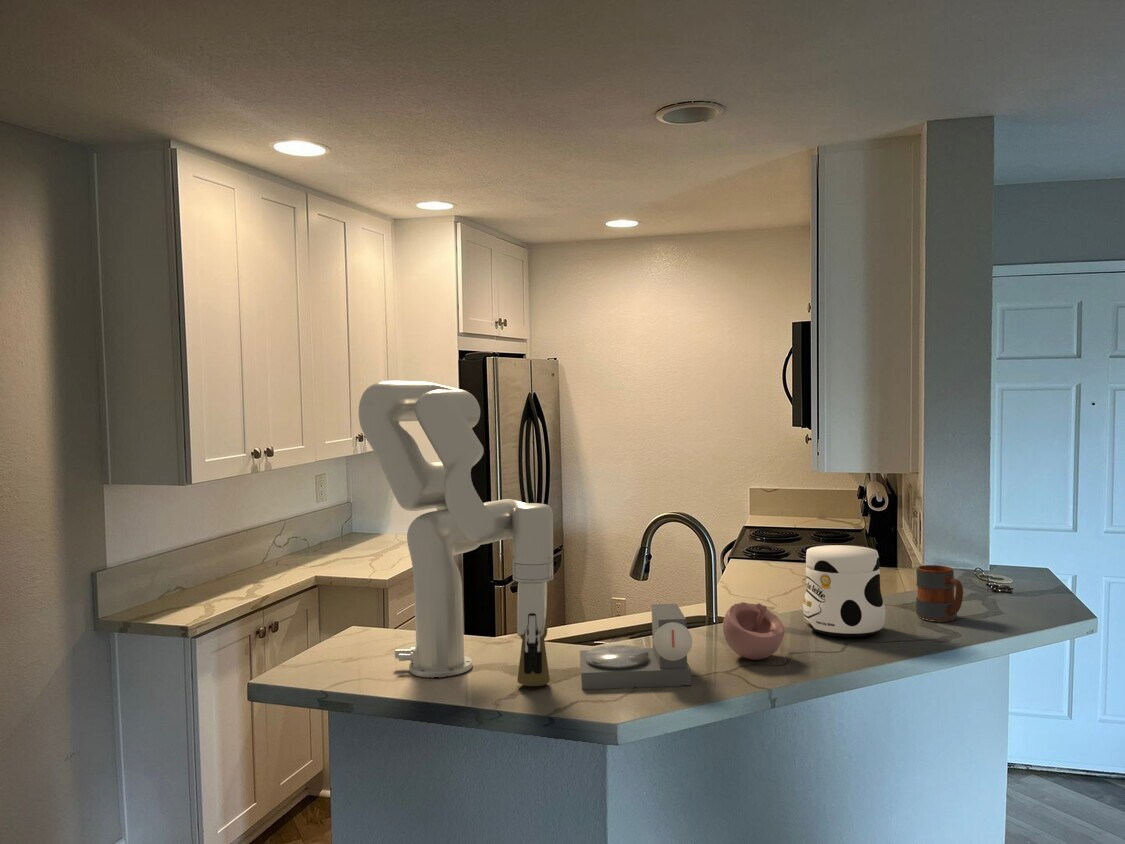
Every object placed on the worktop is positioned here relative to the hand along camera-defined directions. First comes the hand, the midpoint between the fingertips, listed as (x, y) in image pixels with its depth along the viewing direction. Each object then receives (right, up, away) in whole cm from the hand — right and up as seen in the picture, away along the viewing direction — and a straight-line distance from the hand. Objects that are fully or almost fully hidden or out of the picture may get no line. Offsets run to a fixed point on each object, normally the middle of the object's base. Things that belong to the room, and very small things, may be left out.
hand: (533, 667), depth 151 cm
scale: (+19, -3, +5) cm, 20 cm away
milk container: (+68, -1, +29) cm, 74 cm away
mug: (+93, 0, +36) cm, 100 cm away
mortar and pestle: (+44, -2, +12) cm, 46 cm away
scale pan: (+16, 0, +4) cm, 16 cm away
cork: (0, -3, 0) cm, 2 cm away
